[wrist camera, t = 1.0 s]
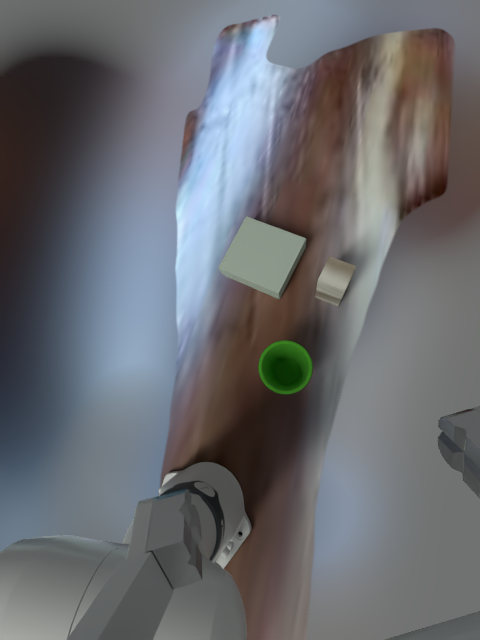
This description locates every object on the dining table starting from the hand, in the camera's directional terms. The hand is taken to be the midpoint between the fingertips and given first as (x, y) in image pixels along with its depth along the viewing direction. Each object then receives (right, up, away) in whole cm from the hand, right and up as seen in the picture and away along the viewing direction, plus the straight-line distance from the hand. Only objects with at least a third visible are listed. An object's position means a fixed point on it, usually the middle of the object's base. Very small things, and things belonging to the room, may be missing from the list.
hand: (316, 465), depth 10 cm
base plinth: (+3, +18, +60) cm, 63 cm away
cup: (+7, -6, +54) cm, 55 cm away
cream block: (+17, +11, +56) cm, 60 cm away
